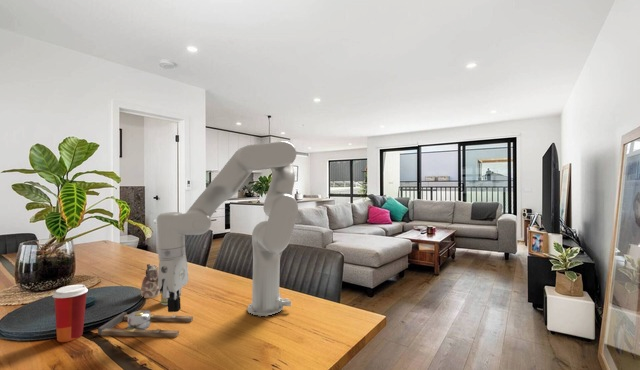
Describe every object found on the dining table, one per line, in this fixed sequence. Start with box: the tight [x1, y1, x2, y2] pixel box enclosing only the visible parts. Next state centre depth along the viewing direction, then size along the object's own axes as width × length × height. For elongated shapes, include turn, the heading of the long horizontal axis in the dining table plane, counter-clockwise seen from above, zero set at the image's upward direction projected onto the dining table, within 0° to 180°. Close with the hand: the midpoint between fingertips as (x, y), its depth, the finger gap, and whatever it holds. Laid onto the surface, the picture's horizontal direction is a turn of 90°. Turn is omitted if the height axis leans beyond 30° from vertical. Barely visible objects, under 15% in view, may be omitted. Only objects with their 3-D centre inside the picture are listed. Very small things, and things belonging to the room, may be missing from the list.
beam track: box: [97, 311, 194, 338], centre depth 91 cm, size 23×11×2 cm, turn 89°
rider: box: [126, 309, 151, 330], centre depth 91 cm, size 6×6×4 cm
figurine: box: [140, 263, 161, 299], centre depth 117 cm, size 7×7×12 cm
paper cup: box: [51, 284, 89, 343], centre depth 85 cm, size 8×8×14 cm
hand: (174, 310), depth 92 cm, fingers closed
